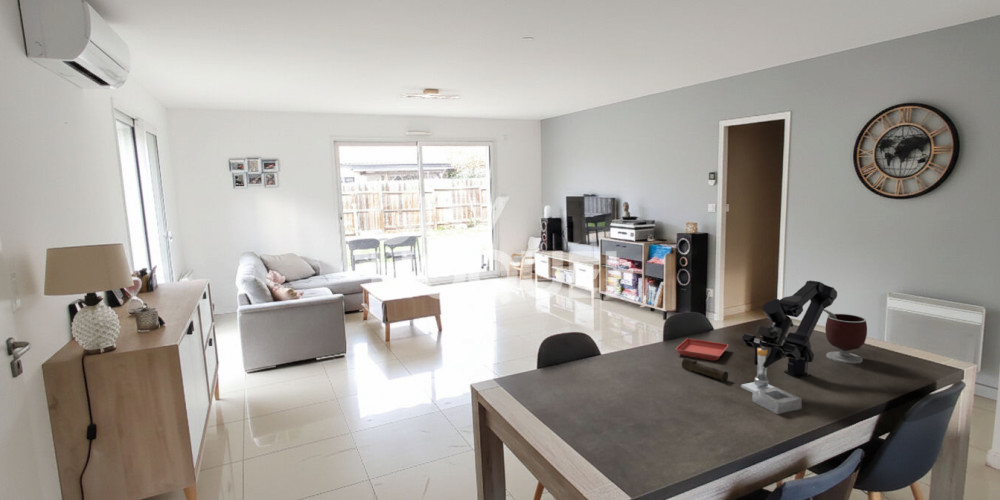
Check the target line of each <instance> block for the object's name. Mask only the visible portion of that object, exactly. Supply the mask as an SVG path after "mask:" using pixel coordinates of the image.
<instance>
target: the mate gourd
mask: <svg viewBox="0 0 1000 500" xmlns="http://www.w3.org/2000/svg"><path fill="white" fill-rule="evenodd" d="M823 312H825V313H827V317H826V322H825V337H826V340H827V341H828V343H829V344H830V345H831V346H833V347H835V348H837V349H839V351H829V352H827V353H826V356H825V357H826V358H828V359H829V360H831V359H832V360H831V361H835V362H837V363H842V364H843V363H845V364H861V363H862V362H863V360H864V359H863V358H862V356H860V355H857V354H854V353H851V352H850V351H852V350H857V349H858V350H859V349H860V348H861V347H862V346H864V344H865V343H866V338H867V335H868V325H867V319H866V318H865V317H862V316H859V315H855V314H850V313H849V314H848V313H833V312H831V311H829V310H827V309H826V308H825V309H824V310H823Z"/></svg>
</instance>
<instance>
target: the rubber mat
mask: <svg viewBox="0 0 1000 500" xmlns="http://www.w3.org/2000/svg"><path fill="white" fill-rule="evenodd" d="M773 387H775V386H773V385H771V384H768V386H766V387H762V386H757V385H755V384H754V381H753V382H748V383H743V384H740V388H741V389H743V390H746V391H748V392H751V393H752V394H753V391H758V390H763V389H768V388H773Z"/></svg>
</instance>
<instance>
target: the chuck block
mask: <svg viewBox="0 0 1000 500" xmlns="http://www.w3.org/2000/svg"><path fill="white" fill-rule="evenodd" d="M802 400H803V398H802V397H799V396H798V395H795V394H792V393H790V392H788V391H786V390H783V389H781V388H779V387H777V386H774V387H773V388H768V389H763V390H758V391H753V393H752V400H751V402H753V403H754V404H756V405H758V406H760V407H762V408H764V409H766V410H769V411H770V412H772V413H774V414H776V415H779V414H784V413H788V412H789V413H790V412H792V411H798V410H801V409H802V406H803V405H802V404H803V403H802Z"/></svg>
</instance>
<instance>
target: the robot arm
mask: <svg viewBox="0 0 1000 500" xmlns="http://www.w3.org/2000/svg"><path fill="white" fill-rule="evenodd" d="M837 297H838V291H837V290H836V288H834V286H830V285H827V284H825V283H823V282H821V281H818V280H817V281H816V280H807V281H806V282H805V284H804V285H803V286H802V287H800V289H798V290H797V291H796V292H795V293H794V294H792V295H790V296H785V297H783V298H780V299H778V298H775V297H774V298H773V299H772V300H769V301H767V302H765V303H764V304H763V305H762V311H763V313H764V314H765V315H766V317H767V319H768V320H769V321H770V322H771V323H770V324H769V326H768V325H767V326H764V325H761V324H760V325H758V326H757V330H756V335H759V338H757V336H756V335H755V334H751V333H746V332H745V333H743V334H742V336H741V337H740V339H741V340H742V342H743V343H744V344H745V346H746V347H748V348H752V349H754V360H753V361H754V363H753V364H754V365H755V366H757V359H758V354H757V350H758V348H759V347H763V348H767V349H770V352H769V353H768V354H769V355H767V360H766V362H765V364H764V368H767V369H768V367H770V366H771V365H772V364H774V363H775V362H778V361H780V360H782V359H786V358H787V359H788V362H787V370H784V372H783V373H785V374H788V375H791V376H793V377H796V378H797V379H798V378H799V379H800V378H804V377H810V376H812V373H809V372H808V369H809V368H808V367H809V366H808V365H809V363H812V362H813V360H814V358H815V357H814V356H815V354H814V352H813V351H812V349H811V348H812V345H811V341H810V338H811V336H812V334H813V332H814V330H815V328H816V325H817V323H818V322H819V320H820V318H821V315H822V313H823V312H824V311H823V310H824V309H825V310H826V308H829V307H830V306H832V304H833V303H834V301H835V300H836V299H837ZM809 301H810V303H809V305H808V307H807V308H806V310H805V313H804V315H803V317H802V319H801V320H800V322H799V325H798V327H797V329H796V331H795V332H791V331H790V332H788V331H789V329H790V328H793V327H794V322H793V319H791V318H790V317H792V318H798V317H800V315H801V314H802V312H803V311H804V306H805V305H806V304H807V303H808V302H809ZM761 339H762V340H761Z"/></svg>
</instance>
